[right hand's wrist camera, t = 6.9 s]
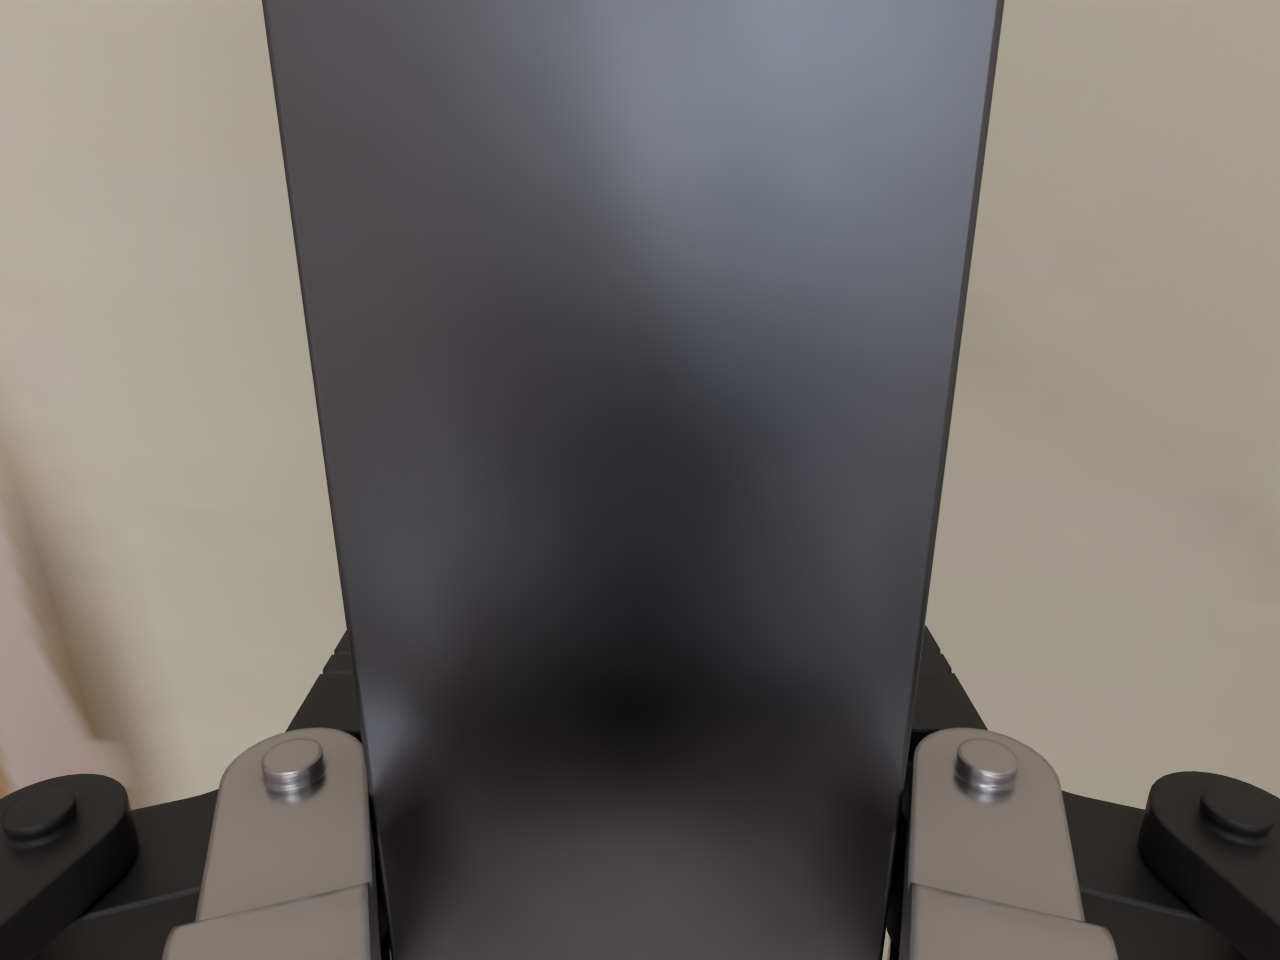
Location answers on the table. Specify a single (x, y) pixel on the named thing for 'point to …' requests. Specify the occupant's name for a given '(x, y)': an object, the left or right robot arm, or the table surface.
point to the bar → (634, 447)
